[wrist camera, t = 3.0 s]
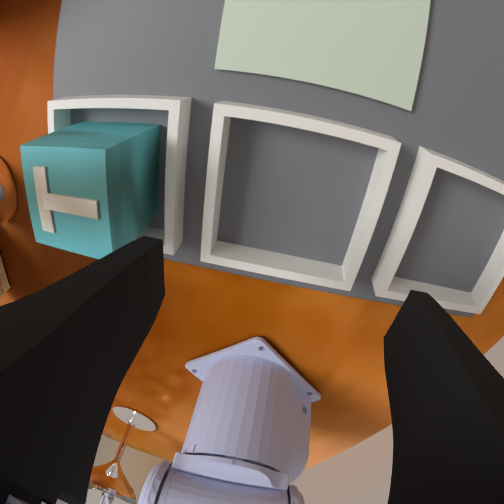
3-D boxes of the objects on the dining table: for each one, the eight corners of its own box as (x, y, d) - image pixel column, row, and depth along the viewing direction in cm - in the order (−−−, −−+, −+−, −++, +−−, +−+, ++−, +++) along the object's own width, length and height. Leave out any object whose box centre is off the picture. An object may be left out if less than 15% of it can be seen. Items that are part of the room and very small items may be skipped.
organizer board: (467, 309, 18) (478, 332, 16) (71, 229, 19) (52, 246, 17) (558, 39, 7) (580, 41, 5) (84, -59, 8) (62, -67, 6)
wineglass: (166, 437, 37) (131, 543, 22) (115, 420, 37) (75, 518, 22) (157, 414, 32) (112, 540, 17) (100, 394, 33) (48, 507, 18)
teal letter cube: (158, 213, 17) (113, 264, 12) (87, 200, 17) (34, 242, 13) (160, 124, 14) (103, 150, 10) (83, 121, 14) (18, 146, 10)
